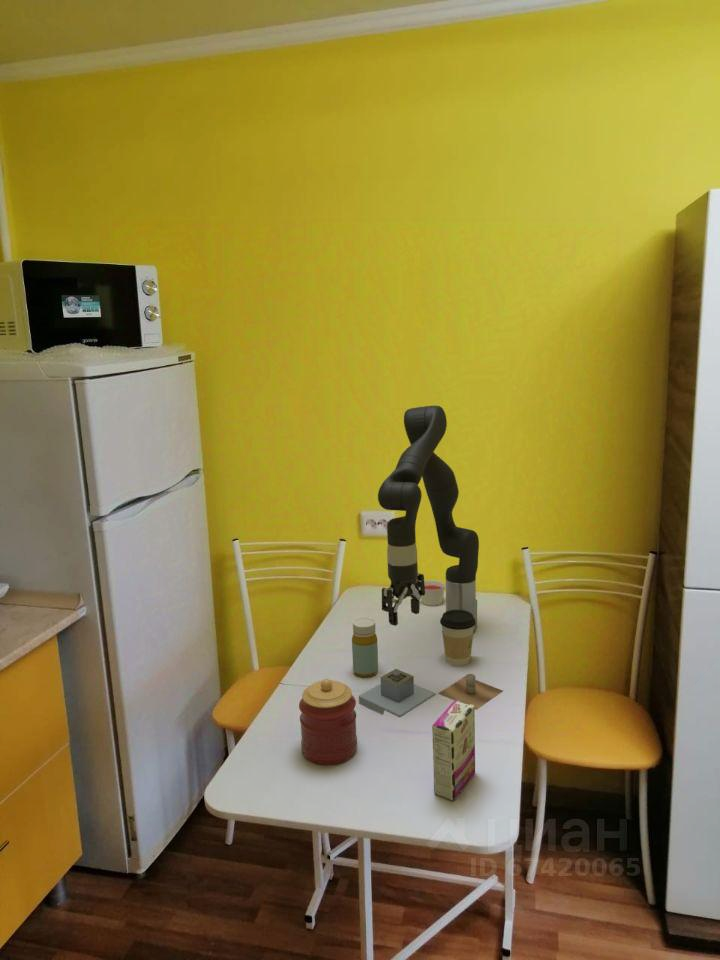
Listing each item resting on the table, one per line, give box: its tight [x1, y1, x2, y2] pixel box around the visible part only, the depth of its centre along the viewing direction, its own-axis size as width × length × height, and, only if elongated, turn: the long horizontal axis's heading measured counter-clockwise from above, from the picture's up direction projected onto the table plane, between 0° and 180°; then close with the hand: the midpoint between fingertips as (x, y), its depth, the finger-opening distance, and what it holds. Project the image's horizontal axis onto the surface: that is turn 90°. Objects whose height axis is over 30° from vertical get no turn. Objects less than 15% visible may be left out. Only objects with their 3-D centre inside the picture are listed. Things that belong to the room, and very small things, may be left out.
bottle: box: [351, 617, 379, 678], centre depth 201 cm, size 7×7×15 cm
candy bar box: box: [431, 700, 476, 801], centre depth 152 cm, size 11×5×16 cm, turn 148°
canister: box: [298, 678, 358, 766], centre depth 165 cm, size 13×13×18 cm
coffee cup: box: [439, 610, 476, 667], centre depth 203 cm, size 10×10×15 cm
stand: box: [437, 673, 504, 711], centre depth 187 cm, size 12×12×6 cm
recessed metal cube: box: [380, 668, 415, 703], centre depth 185 cm, size 6×6×5 cm
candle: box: [419, 579, 446, 607], centre depth 249 cm, size 9×9×6 cm
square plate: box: [358, 671, 437, 718], centre depth 186 cm, size 14×14×8 cm
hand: (404, 618), depth 185 cm, fingers open, 8 cm apart
